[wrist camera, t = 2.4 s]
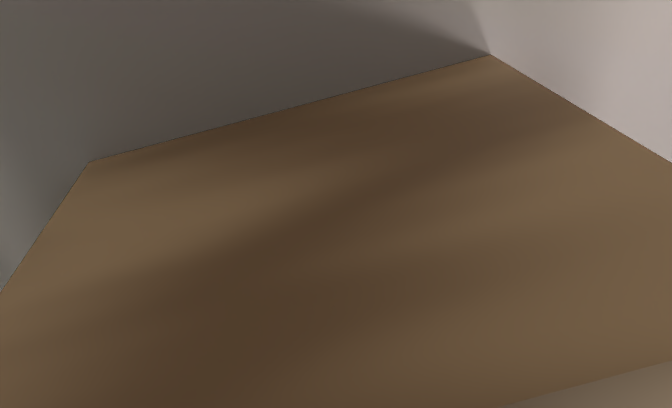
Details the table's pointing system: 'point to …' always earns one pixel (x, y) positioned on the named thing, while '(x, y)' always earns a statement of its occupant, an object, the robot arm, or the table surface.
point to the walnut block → (358, 261)
